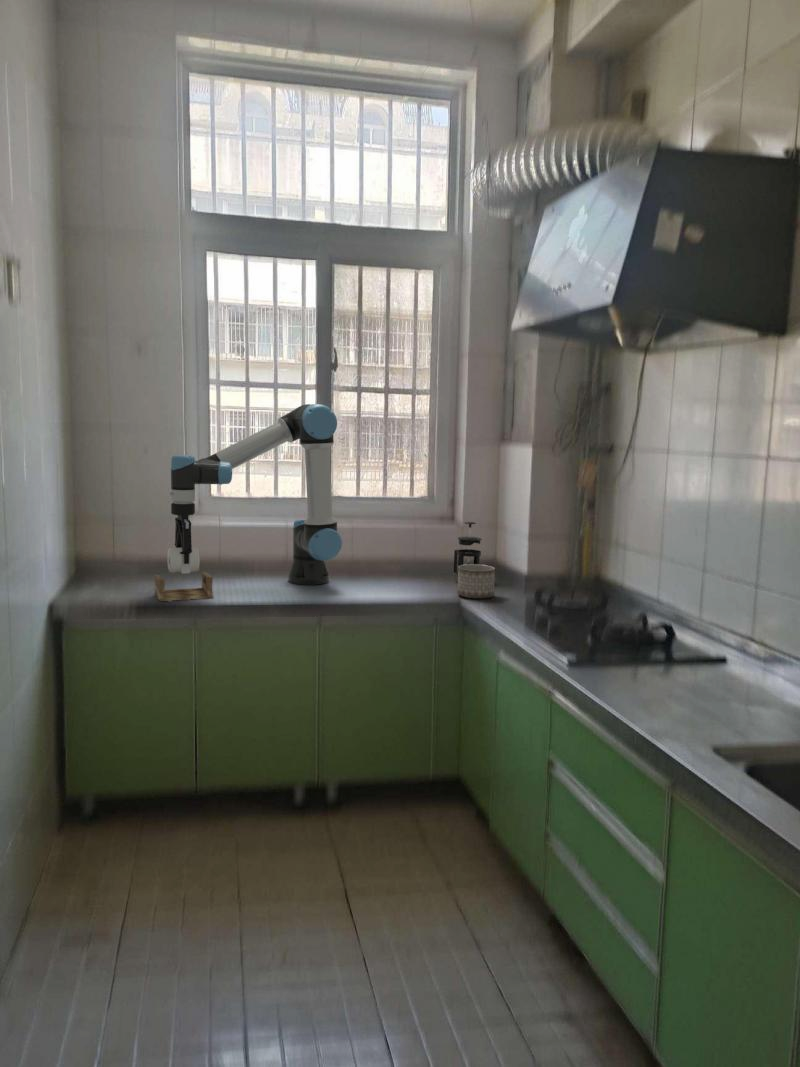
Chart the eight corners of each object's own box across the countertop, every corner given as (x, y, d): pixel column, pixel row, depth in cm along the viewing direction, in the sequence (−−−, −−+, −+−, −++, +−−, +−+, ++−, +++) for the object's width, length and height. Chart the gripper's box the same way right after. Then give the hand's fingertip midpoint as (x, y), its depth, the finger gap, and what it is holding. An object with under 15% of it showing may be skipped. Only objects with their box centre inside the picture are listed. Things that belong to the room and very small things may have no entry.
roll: (194, 568, 278) (194, 545, 277) (199, 573, 271) (199, 548, 270) (167, 570, 274) (166, 546, 273) (171, 574, 267) (171, 550, 266)
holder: (205, 591, 282) (205, 571, 281) (213, 598, 272) (213, 577, 271) (154, 595, 275) (154, 574, 274) (160, 602, 265) (160, 580, 264)
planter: (454, 592, 292) (455, 564, 291) (488, 592, 294) (490, 564, 292) (461, 600, 280) (462, 570, 278) (497, 600, 281) (498, 570, 280)
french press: (486, 583, 311) (489, 522, 308) (471, 586, 304) (473, 524, 301) (462, 578, 319) (464, 519, 316) (446, 581, 312) (449, 521, 309)
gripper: (165, 499, 277) (165, 566, 280) (177, 506, 258) (177, 577, 261) (188, 499, 280) (188, 564, 283) (201, 505, 262) (201, 576, 265)
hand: (183, 570), depth 272 cm, fingers closed on roll, 8 cm apart
